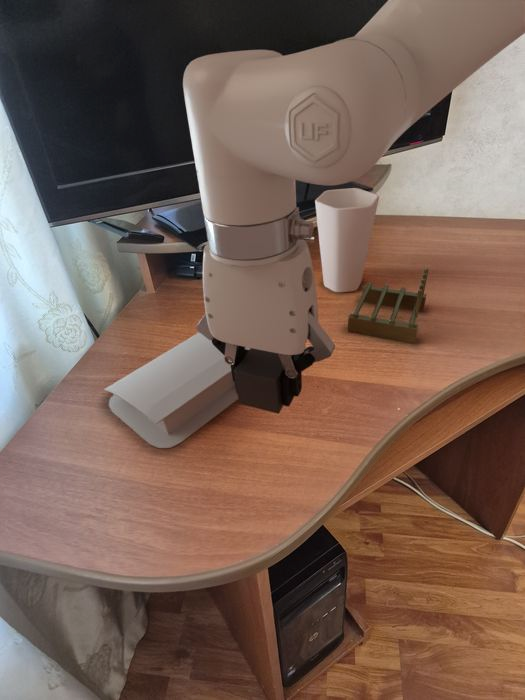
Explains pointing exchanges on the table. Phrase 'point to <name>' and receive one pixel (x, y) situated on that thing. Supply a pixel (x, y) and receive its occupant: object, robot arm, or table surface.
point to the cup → (344, 235)
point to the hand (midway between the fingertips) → (267, 390)
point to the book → (175, 392)
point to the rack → (396, 300)
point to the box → (260, 380)
